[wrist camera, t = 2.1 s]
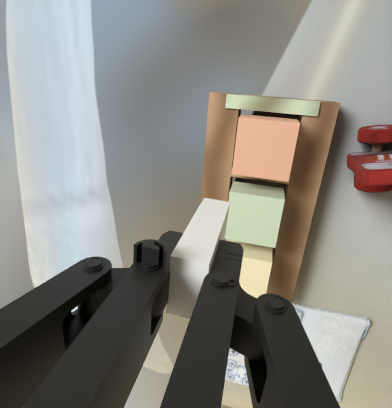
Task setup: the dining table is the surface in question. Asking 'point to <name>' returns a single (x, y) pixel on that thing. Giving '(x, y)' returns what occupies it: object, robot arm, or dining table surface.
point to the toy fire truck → (373, 160)
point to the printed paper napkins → (319, 345)
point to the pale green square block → (254, 213)
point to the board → (295, 189)
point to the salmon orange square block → (265, 147)
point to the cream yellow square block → (255, 268)
